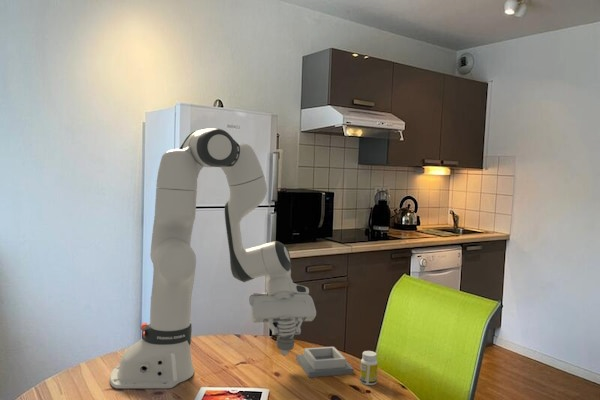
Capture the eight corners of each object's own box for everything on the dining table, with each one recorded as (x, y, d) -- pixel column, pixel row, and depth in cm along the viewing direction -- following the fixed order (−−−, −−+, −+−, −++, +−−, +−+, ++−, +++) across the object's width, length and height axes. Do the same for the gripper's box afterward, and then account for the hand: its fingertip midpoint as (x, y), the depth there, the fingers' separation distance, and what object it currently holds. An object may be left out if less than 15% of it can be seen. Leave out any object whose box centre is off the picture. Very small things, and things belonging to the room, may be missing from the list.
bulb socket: (308, 377, 131) (309, 363, 131) (296, 359, 144) (296, 347, 144) (353, 373, 136) (353, 360, 135) (337, 356, 148) (337, 344, 148)
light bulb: (294, 353, 139) (297, 314, 138) (292, 360, 133) (295, 319, 133) (276, 350, 139) (279, 312, 139) (273, 357, 134) (276, 317, 133)
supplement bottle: (377, 379, 132) (379, 351, 132) (375, 386, 128) (377, 357, 127) (360, 377, 133) (362, 349, 133) (358, 384, 129) (360, 355, 128)
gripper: (250, 288, 139) (254, 330, 130) (313, 287, 145) (321, 328, 136) (246, 298, 143) (250, 339, 134) (307, 297, 149) (315, 337, 140)
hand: (286, 333), depth 135 cm, fingers closed on light bulb, 6 cm apart
